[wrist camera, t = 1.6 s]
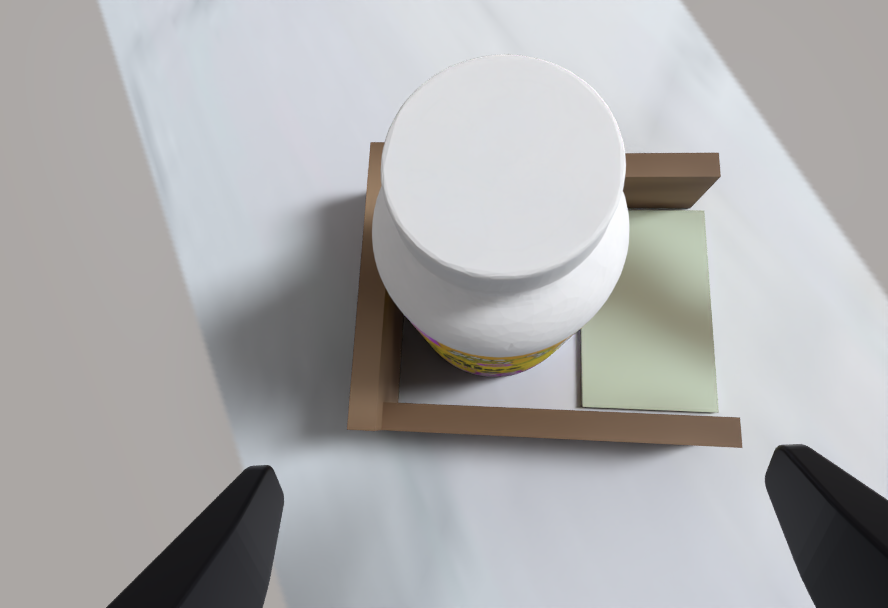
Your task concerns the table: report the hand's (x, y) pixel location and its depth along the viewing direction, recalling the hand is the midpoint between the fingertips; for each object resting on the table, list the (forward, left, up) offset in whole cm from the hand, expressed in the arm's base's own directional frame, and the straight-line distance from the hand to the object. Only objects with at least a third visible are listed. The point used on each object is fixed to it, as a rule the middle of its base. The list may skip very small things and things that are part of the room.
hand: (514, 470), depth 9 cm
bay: (+6, -2, -12) cm, 13 cm away
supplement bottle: (+6, 0, -12) cm, 13 cm away
